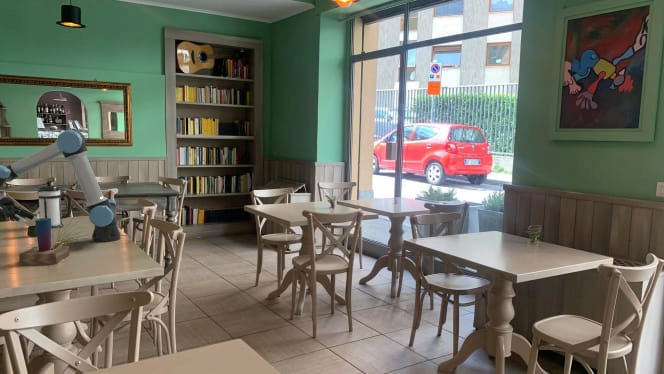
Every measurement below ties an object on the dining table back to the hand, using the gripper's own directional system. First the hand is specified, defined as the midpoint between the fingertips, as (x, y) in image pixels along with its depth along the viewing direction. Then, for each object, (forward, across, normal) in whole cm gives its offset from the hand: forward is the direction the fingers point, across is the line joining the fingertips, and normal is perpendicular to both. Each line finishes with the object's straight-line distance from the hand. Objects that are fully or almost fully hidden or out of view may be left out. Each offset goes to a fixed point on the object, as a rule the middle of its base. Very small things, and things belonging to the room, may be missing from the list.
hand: (34, 224), depth 256 cm
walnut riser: (+20, +8, -9) cm, 23 cm away
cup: (+17, +9, -5) cm, 20 cm away
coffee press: (-33, -70, -18) cm, 79 cm away
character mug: (-24, -42, -20) cm, 53 cm away
